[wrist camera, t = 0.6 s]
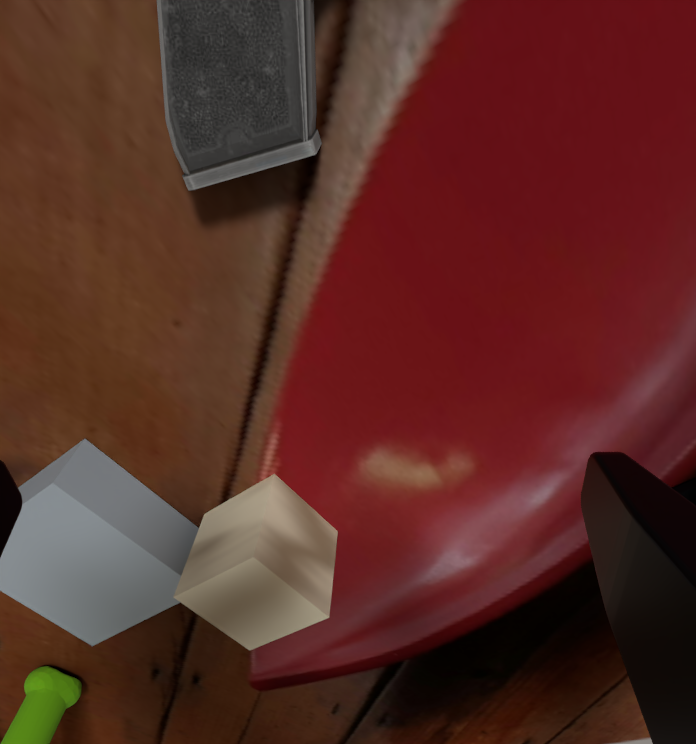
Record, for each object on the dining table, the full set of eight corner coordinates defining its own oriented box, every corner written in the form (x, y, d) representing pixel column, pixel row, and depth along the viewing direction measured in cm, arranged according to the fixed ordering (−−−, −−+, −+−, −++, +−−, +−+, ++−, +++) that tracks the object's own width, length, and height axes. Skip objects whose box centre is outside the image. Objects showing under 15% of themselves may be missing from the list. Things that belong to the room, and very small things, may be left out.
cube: (337, 530, 29) (329, 617, 24) (268, 564, 31) (249, 650, 26) (274, 472, 27) (253, 556, 22) (204, 512, 29) (173, 597, 24)
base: (217, 543, 30) (202, 591, 27) (114, 598, 33) (92, 646, 30) (85, 438, 26) (52, 483, 24) (-16, 512, 29) (-53, 558, 27)
